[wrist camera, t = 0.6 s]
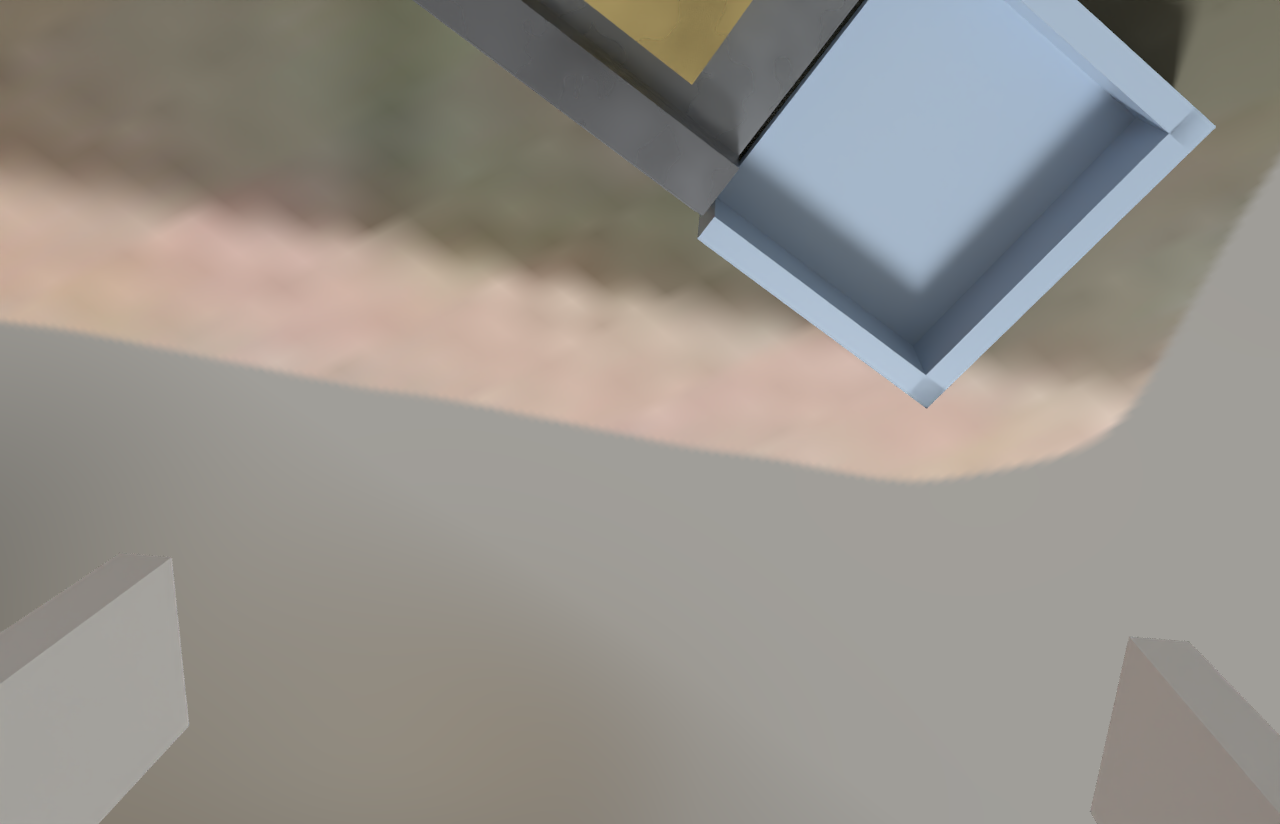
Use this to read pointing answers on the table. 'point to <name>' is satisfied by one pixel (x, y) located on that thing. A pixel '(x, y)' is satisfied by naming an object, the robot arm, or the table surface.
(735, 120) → the slotted deck
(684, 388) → the table surface
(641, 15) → the brass block
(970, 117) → the tray
